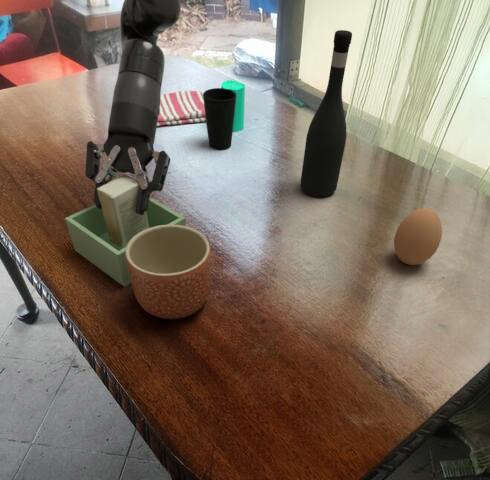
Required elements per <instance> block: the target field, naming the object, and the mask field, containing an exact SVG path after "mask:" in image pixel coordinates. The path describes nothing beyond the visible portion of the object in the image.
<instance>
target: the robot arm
mask: <svg viewBox="0 0 490 480" xmlns="http://www.w3.org/2000/svg"><path fill="white" fill-rule="evenodd" d="M181 14H182V3H181V0H123V3H122V6H121V10H120V16H119V17H120V19H119V22H120V23H119V24H120V44H121V53H120V54H121V55H120V60H119V67H118V72H117V79H116V82H115V86H114V89H113V94H112V101H111V108H110V115H109V121H108V127H107V138H106V140H105V141H104V143H95V142H93V141H91V140H90V141H88V142H87V143H86V156H85V158H86V160H85V174H84V175H85V177H86V178H87V179H89V180H90V181H92V182H94V184H95V186H94V193H93V203H94V205H95V204H96V207H98V208H100V209H102V208H101V204H100V200H99V196H98V192H97V188H99V187H101V186H103V185H105V184H107V183H108V182H110V181H112V180H113V179H115V178H117V176H118V174H119V173H123V174H125V173H128V174H129V173H130V174H132V175H135V176H136V178H137V181H139V184H140V187H141V190H138V196H137V203H136V209H135V212H136V213H137V214H139V215H144V212H147V210H148V205H149V198H150V197H151V194H152V193H154V192H162V191H163V189H164V186H165V182H166V178H167V175H168V170H169V167H170V164H171V157H170V156H169V155H168V153H167V152H166V151H165V150H160V151H157V150H155V149H154V145H155V139H156V134H157V133H156V132H157V127H158V126H157V121H158V115H159V113H160V98H161V94H162V92H161V91H162V85H163V79H164V71H165V65H166V62H165V61H166V58H165V54H164V52H163V50H162V48H161V47H160V46H159V45H158V39H159V35H160V34H163V33H164V32H166V31H168V30H169V29H170V28H172V27H173V26H175V25H176V23H178V21H179V19H180V17H181ZM104 153H105V155H106V159H105V160H104V161H103V163H102V165H100V163H101V158H103V155H104ZM152 161H153V162H154V164H155V168H154V171H153V175H152V179H151V180H150V176H149V172H148V169H147V166H148V165H149V164H150V163H151V162H152ZM100 166H101V167H100Z"/></svg>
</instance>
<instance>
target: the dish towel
mask: <svg viewBox="0 0 490 480" xmlns="http://www.w3.org/2000/svg"><path fill="white" fill-rule="evenodd" d="M203 93H204V92H202V91H200V90H181V91H175V92H169V93H161V98H160V113H159V115H158V121H157V127H161V126H167V125H168V126H169V125H170V126H171V125H181V124H190V123H191V124H192V123H201V122H206V116H205V107H204V99H203Z"/></svg>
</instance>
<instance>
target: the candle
mask: <svg viewBox="0 0 490 480" xmlns="http://www.w3.org/2000/svg"><path fill="white" fill-rule="evenodd" d="M221 88H224V89H229V90H232V91H233V92H235V93H236V103H235V113H234V122H233V132H232V133H235V132H237V133H238V132H240V131H242V130H244V127H245V95H246V94H245V93H246V85H245V83H242V82H240V81H237V80H234V77H232V79H228V80H225V81H223V82H221Z"/></svg>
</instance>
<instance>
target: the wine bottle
mask: <svg viewBox="0 0 490 480" xmlns="http://www.w3.org/2000/svg"><path fill="white" fill-rule="evenodd" d="M352 38H353V33H352V32H351V31H350V30H346V29H340V30H336V31H335V32H334V37H333V48H332V56H331V62H330V70H329V75H328V82H327V87H326V91H325V93H324V96H323V98H322V100H321V102H320V104H319V106H318V108H317V110H316V111H315V113H314V115H313V117H312V119H311V121H310V124H309V126H308V130H307V132H306V138H305V145H304V152H303V153H304V154H303V161H302V167H301V168H302V169H301V176H300V188H301V189H302V191H303V192H304V193H306V194H307V195H309V196H312V197H318V198H320V197H321V198H323V197H328V196H331V195H332V194H334V193H335V191H336V190H337V187H338V183H339V177H340V174H341V173H340V172H341V168H342V162H343V159H344V158H343V157H344V152H345V148H346V142H347V122H346V121H347V120H346V115H345V110H344V105H343V103H344V102H343V83H344V78H345V72H346V66H347V61H348V56H349V50H350V46H351V44H352V40H353V39H352Z"/></svg>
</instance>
